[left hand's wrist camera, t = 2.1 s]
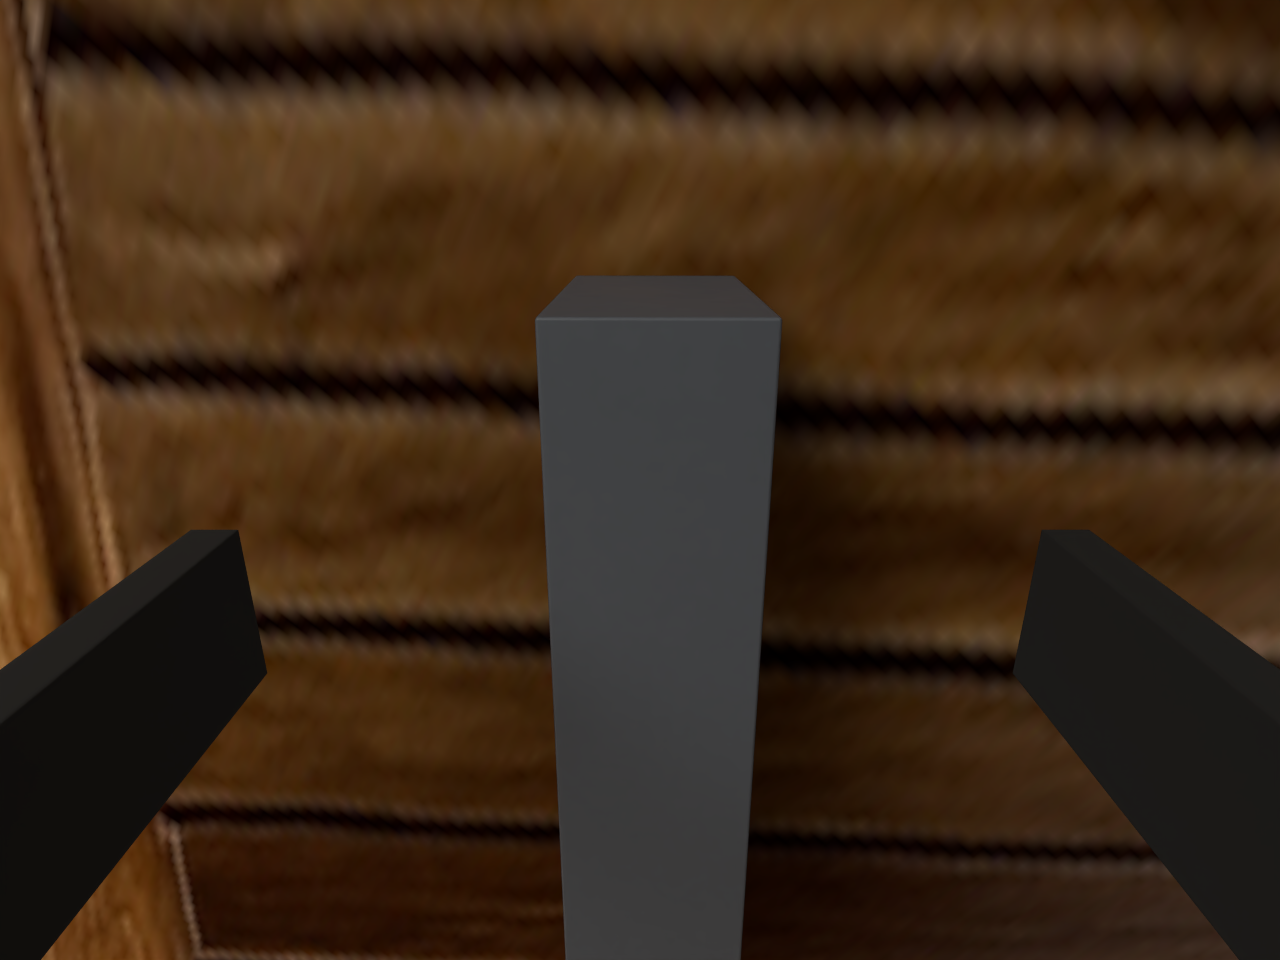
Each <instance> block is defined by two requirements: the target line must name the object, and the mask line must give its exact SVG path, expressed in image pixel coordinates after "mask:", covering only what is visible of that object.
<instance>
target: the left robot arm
mask: <svg viewBox="0 0 1280 960" xmlns="http://www.w3.org/2000/svg"><path fill="white" fill-rule="evenodd" d="M266 674H267V670H266V665H265V660H264V655H263V650H262V645H261V640H260V635H259V630H258V625H257V621H256V616H255V611H254V606H253V601H252V596H251V591H250V586H249V581H248V576H247V571H246V566H245V562H244V557H243V552H242V547H241V542H240V537H239V532H238V530H190V531H189V532H188V533H186V534H185V535H184V536H182V537H181V538H179V539H178V540H177V541H175V542H174V543H173V544H171V545H170V546H169V547H167V548H166V549H164V550H163V551H162V552H160V553H159V554H158V555H156V556H155V557H154V558H152V559H151V560H149V561H148V562H147V563H145V564H144V565H143V566H141V567H140V568H138V569H137V570H136V571H134V572H133V573H132V574H130V575H129V576H128V577H126V578H125V579H123V580H122V581H121V582H119V583H118V584H117V585H115V586H114V587H113V588H111V589H110V590H108V591H107V592H106V593H104V594H103V595H102V596H100V597H99V598H98V599H96V600H95V601H93V602H92V603H91V604H89V605H88V606H87V607H85V608H84V609H83V610H81V611H80V612H78V613H77V614H76V615H74V616H73V617H72V618H70V619H69V620H68V621H66V622H65V623H63V624H62V625H61V626H59V627H58V628H57V629H55V630H54V631H53V632H51V633H50V634H48V635H47V636H46V637H44V638H43V639H42V640H40V641H39V642H37V643H36V644H35V645H33V646H32V647H31V648H29V649H28V650H27V651H25V652H24V653H22V654H21V655H20V656H18V657H17V658H16V659H14V660H13V661H12V662H10V663H9V664H7V665H6V666H5V667H3V668H2V669H1V670H0V960H41V959H42V958H43V956H44V955H45V954H46V953H47V951H48V950H49V949H50V948H51V946H52V945H53V944H54V942H55V941H56V940H57V939H58V937H59V936H60V935H61V934H62V932H63V931H64V930H65V929H66V927H67V926H68V925H69V923H70V922H71V921H72V920H73V918H74V917H75V916H76V915H77V913H78V912H79V911H80V910H81V908H82V907H83V906H84V904H85V903H86V902H87V901H88V899H89V898H90V897H91V896H92V894H93V893H94V892H95V891H96V889H97V888H98V887H99V885H100V884H101V883H102V882H103V880H104V879H105V878H106V877H107V875H108V874H109V873H110V872H111V870H112V869H113V868H114V866H115V865H116V864H117V863H118V861H119V860H120V859H121V858H122V856H123V855H124V854H125V853H126V851H127V850H128V849H129V847H130V846H131V845H132V844H133V842H134V841H135V840H136V839H137V837H138V836H139V835H140V834H141V832H142V831H143V830H144V828H145V827H146V826H147V825H148V823H149V822H150V821H151V820H152V818H153V817H154V816H155V815H156V813H157V812H158V811H159V809H160V808H161V807H162V806H163V804H164V803H165V802H166V801H167V799H168V798H169V797H170V796H171V794H172V793H173V792H174V791H175V789H176V788H177V787H178V785H179V784H180V783H181V782H182V780H183V779H184V778H185V777H186V775H187V774H188V773H189V772H190V770H191V769H192V768H193V766H194V765H195V764H196V763H197V761H198V760H199V759H200V758H201V756H202V755H203V754H204V753H205V751H206V750H207V749H208V747H209V746H210V745H211V744H212V742H213V741H214V740H215V739H216V737H217V736H218V735H219V734H220V732H221V731H222V730H223V728H224V727H225V726H226V725H227V723H228V722H229V721H230V720H231V718H232V717H233V716H234V715H235V713H236V712H237V711H238V709H239V708H240V707H241V706H242V704H243V703H244V702H245V701H246V699H247V698H248V697H249V696H250V694H251V693H252V692H253V690H254V689H255V688H256V687H257V685H258V684H259V683H260V682H261V680H262V679H263V678H264V677H265V675H266ZM1013 674H1014V675H1015V677H1016V678H1017V679H1018V680H1019V682H1020V683H1021V684H1022V685H1023V687H1024V688H1025V689H1026V690H1027V692H1028V693H1029V694H1030V696H1031V697H1032V698H1033V699H1034V701H1035V702H1036V703H1037V704H1038V706H1039V707H1040V708H1041V709H1042V711H1043V712H1044V713H1045V715H1046V716H1047V717H1048V718H1049V720H1050V721H1051V722H1052V723H1053V725H1054V726H1055V727H1056V728H1057V730H1058V731H1059V732H1060V734H1061V735H1062V736H1063V737H1064V739H1065V740H1066V741H1067V742H1068V744H1069V745H1070V746H1071V747H1072V749H1073V750H1074V751H1075V753H1076V754H1077V755H1078V756H1079V758H1080V759H1081V760H1082V761H1083V763H1084V764H1085V765H1086V766H1087V768H1088V769H1089V770H1090V772H1091V773H1092V774H1093V775H1094V777H1095V778H1096V779H1097V780H1098V782H1099V783H1100V784H1101V785H1102V787H1103V788H1104V789H1105V791H1106V792H1107V793H1108V794H1109V796H1110V797H1111V798H1112V799H1113V801H1114V802H1115V803H1116V804H1117V806H1118V807H1119V808H1120V810H1121V811H1122V812H1123V813H1124V815H1125V816H1126V817H1127V818H1128V820H1129V821H1130V822H1131V823H1132V825H1133V826H1134V827H1135V828H1136V830H1137V831H1138V832H1139V834H1140V835H1141V836H1142V837H1143V839H1144V840H1145V841H1146V842H1147V844H1148V845H1149V846H1150V847H1151V849H1152V850H1153V851H1154V853H1155V854H1156V855H1157V856H1158V858H1159V859H1160V860H1161V861H1162V863H1163V864H1164V865H1165V866H1166V868H1167V869H1168V870H1169V872H1170V873H1171V874H1172V875H1173V877H1174V878H1175V879H1176V880H1177V882H1178V883H1179V884H1180V885H1181V887H1182V888H1183V889H1184V891H1185V892H1186V893H1187V894H1188V896H1189V897H1190V898H1191V899H1192V901H1193V902H1194V903H1195V904H1196V906H1197V907H1198V908H1199V910H1200V911H1201V912H1202V913H1203V915H1204V916H1205V917H1206V918H1207V920H1208V921H1209V922H1210V923H1211V925H1212V926H1213V927H1214V929H1215V930H1216V931H1217V932H1218V934H1219V935H1220V936H1221V937H1222V939H1223V940H1224V941H1225V942H1226V944H1227V945H1228V946H1229V948H1230V949H1231V950H1232V951H1233V953H1234V954H1235V955H1236V956H1237V958H1238V959H1239V960H1280V670H1279V669H1278V668H1277V667H1275V666H1274V665H1273V664H1271V663H1270V662H1268V661H1267V660H1266V659H1264V658H1263V657H1262V656H1260V655H1259V654H1258V653H1256V652H1255V651H1253V650H1252V649H1251V648H1249V647H1248V646H1247V645H1245V644H1244V643H1243V642H1241V641H1240V640H1238V639H1237V638H1236V637H1234V636H1233V635H1232V634H1230V633H1229V632H1227V631H1226V630H1225V629H1223V628H1222V627H1221V626H1219V625H1218V624H1217V623H1215V622H1214V621H1212V620H1211V619H1210V618H1208V617H1207V616H1206V615H1204V614H1203V613H1202V612H1200V611H1199V610H1197V609H1196V608H1195V607H1193V606H1192V605H1191V604H1189V603H1188V602H1187V601H1185V600H1184V599H1182V598H1181V597H1180V596H1178V595H1177V594H1176V593H1174V592H1173V591H1172V590H1170V589H1169V588H1167V587H1166V586H1165V585H1163V584H1162V583H1161V582H1159V581H1158V580H1157V579H1155V578H1154V577H1152V576H1151V575H1150V574H1148V573H1147V572H1146V571H1144V570H1143V569H1142V568H1140V567H1139V566H1137V565H1136V564H1135V563H1133V562H1132V561H1131V560H1129V559H1128V558H1126V557H1125V556H1124V555H1122V554H1121V553H1120V552H1118V551H1117V550H1116V549H1114V548H1113V547H1111V546H1110V545H1109V544H1107V543H1106V542H1105V541H1103V540H1102V539H1101V538H1099V537H1098V536H1096V535H1095V534H1094V533H1092V532H1091V531H1090V530H1042V532H1041V537H1040V542H1039V547H1038V552H1037V557H1036V561H1035V566H1034V571H1033V576H1032V581H1031V586H1030V591H1029V596H1028V601H1027V606H1026V611H1025V616H1024V621H1023V625H1022V630H1021V635H1020V640H1019V645H1018V650H1017V655H1016V660H1015V665H1014V670H1013Z"/></svg>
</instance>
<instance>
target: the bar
mask: <svg viewBox="0 0 1280 960" xmlns="http://www.w3.org/2000/svg"><path fill="white" fill-rule="evenodd" d="M535 330H536V351H537V372H538V393H539V413H540V434H541V455H542V476H543V497H544V517H545V538H546V559H547V580H548V601H549V621H550V642H551V663H552V684H553V705H554V725H555V746H556V767H557V788H558V809H559V829H560V850H561V871H562V892H563V913H564V934H565V954H566V960H741V945H742V930H743V915H744V899H745V884H746V869H747V853H748V838H749V823H750V807H751V792H752V777H753V761H754V746H755V730H756V715H757V700H758V684H759V669H760V654H761V638H762V623H763V608H764V592H765V577H766V562H767V546H768V531H769V515H770V500H771V485H772V469H773V454H774V439H775V423H776V408H777V393H778V377H779V362H780V347H781V331H782V319H781V317H779V316H778V315H777V314H776V313H775V312H774V311H773V310H772V309H770V308H769V307H768V306H767V305H766V304H765V303H764V302H763V301H761V300H760V299H759V298H758V297H757V296H756V295H755V294H754V293H753V292H751V291H750V290H749V289H748V288H747V287H746V286H745V285H744V284H742V283H741V282H740V281H739V280H738V279H737V278H736V277H734V276H576V277H575V278H574V279H573V280H572V281H571V282H570V283H569V284H568V285H567V286H566V287H565V288H564V289H563V290H562V291H561V292H560V293H559V295H558V296H557V297H556V298H555V299H554V300H553V301H552V302H551V303H550V304H549V305H548V306H547V307H546V308H545V309H544V310H543V311H542V312H541V313H540V314H539V315H538V316H537V317H536V319H535Z"/></svg>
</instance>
